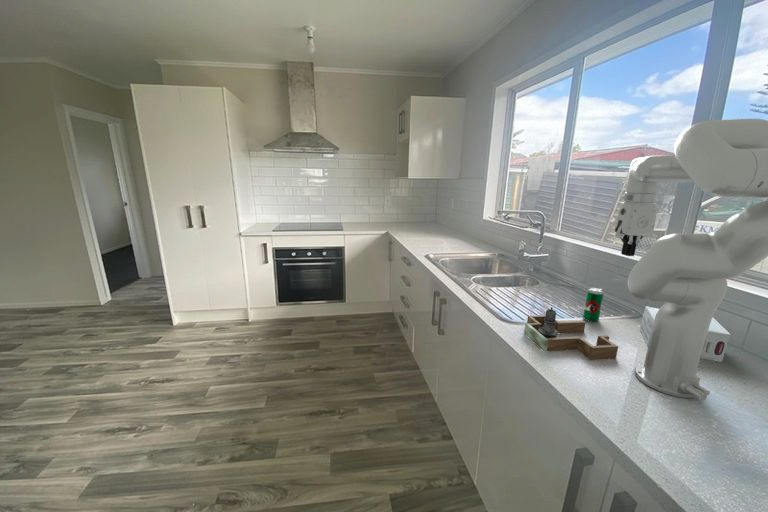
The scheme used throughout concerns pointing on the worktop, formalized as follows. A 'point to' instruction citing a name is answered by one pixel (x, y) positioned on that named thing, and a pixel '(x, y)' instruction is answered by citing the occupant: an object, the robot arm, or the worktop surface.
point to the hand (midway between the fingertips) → (627, 255)
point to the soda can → (593, 304)
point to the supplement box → (713, 343)
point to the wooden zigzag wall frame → (570, 339)
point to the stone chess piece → (549, 325)
